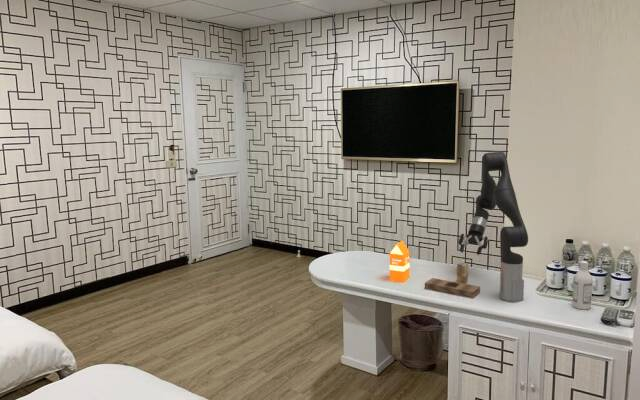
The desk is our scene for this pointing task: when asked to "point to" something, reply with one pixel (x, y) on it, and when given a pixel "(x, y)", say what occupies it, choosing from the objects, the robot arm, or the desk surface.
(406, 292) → the desk surface
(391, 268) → the orange juice
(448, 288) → the brown wooden slotted board
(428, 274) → the desk surface
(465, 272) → the tan cylinder
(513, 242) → the robot arm
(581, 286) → the bath foam
